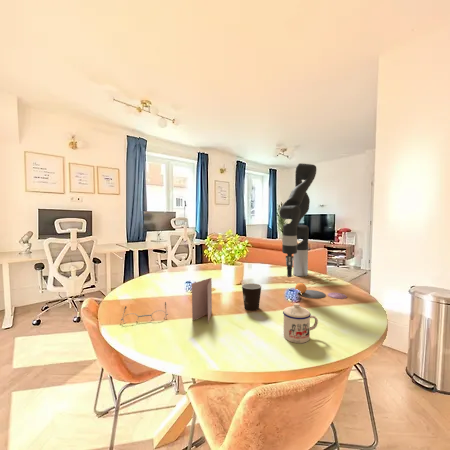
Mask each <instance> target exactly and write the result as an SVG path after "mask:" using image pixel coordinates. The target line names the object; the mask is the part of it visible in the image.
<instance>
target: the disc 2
mask: <svg viewBox="0 0 450 450" xmlns="http://www.w3.org/2000/svg"><path fill="white" fill-rule="evenodd" d="M327 296H328V297H329V298H333V299H335V300H336V299H337V300H338V299H339V300H343V299H344V298H345V299H347V298H348V296H347V295H346V294H345V293H340V292H328V293H327Z"/></svg>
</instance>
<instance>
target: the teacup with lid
mask: <svg viewBox="0 0 450 450" xmlns="http://www.w3.org/2000/svg"><path fill="white" fill-rule="evenodd" d="M282 314H283V337H284V339H285V340H286V341H289V342H292V343H294V344H304V343H306V342H309V340H310V338H311V334H310V333H311V331H313V330H315V329H316V328H317V327H318V324H319V320H318V318H317V317H316V316H315V315H313V314H311V312H310V310H308V309H307V308H305V307H302V306H300V303H298V302H295V303H293V305H291V306H287V307H285V308H284V309H283V311H282ZM311 319H314V324H313V325H312V326H311V325H310V324H311V321H310V320H311Z"/></svg>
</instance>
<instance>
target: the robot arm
mask: <svg viewBox="0 0 450 450" xmlns="http://www.w3.org/2000/svg"><path fill="white" fill-rule="evenodd" d="M294 173H295V175H294V176H295V178H294V179H295V182H294V183H295V187H294V188H293V189H292V190H291V191H290V195H289V196H288V198H287V199H286V200H285V202H284V203H283V204H282V205H281V207H280V208H279V211H278V212H279V213H278V214H279V216H280V218H281V219H283V220H291V221H290V222H289V223H284V224H283V226H282V240H281V241H282V244H281V245H282V246H281V247H282V251H281V252H282V253H283V254H286V255H285V266H286V270H287V272H286V273H287V274H286V275H287V277H288V278H291V277H292V273H293V276H296V277H308V276H309V275H308V274H309V273H308V271H309V255H308V254H309V231H310V230H309V226H308V225H305V224H301V225H299V224H300V221H302V219H303V218H304V217H305V215H306V214H308V212H309V210H310V202H311V201H310V196H309V194H308V193H307V191H308V189H309V188H310V187H311V185H312V183H313V182H314V180H315V178H316V175H317V166H316V165H315V164H311V163H303V162H301V163H298V164H297V165H296V167H295V172H294ZM298 240H302V241H301V242H299V243H298ZM292 271H293V272H292Z"/></svg>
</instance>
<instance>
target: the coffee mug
mask: <svg viewBox="0 0 450 450" xmlns="http://www.w3.org/2000/svg"><path fill="white" fill-rule="evenodd" d="M241 289H242V299H243V306H244V310H245V311H249V312H254V311H258V310H259V309H260V302H261V293H262V285H261V284H259V283H253V282H251V283H249V282H248V283H244V284H241Z"/></svg>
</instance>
